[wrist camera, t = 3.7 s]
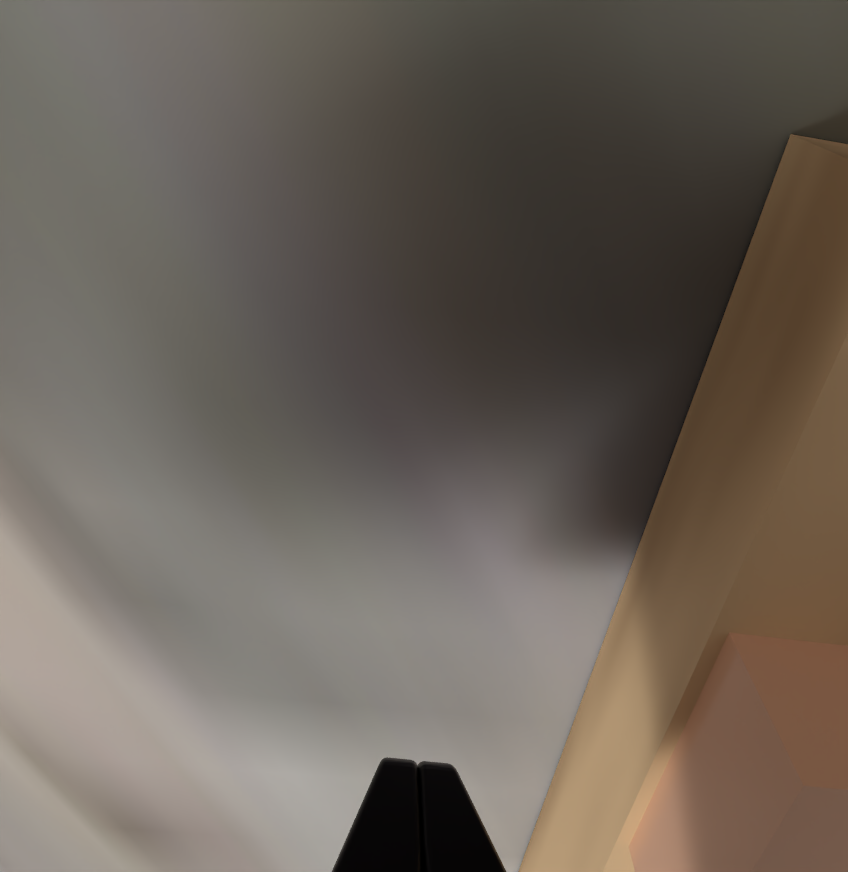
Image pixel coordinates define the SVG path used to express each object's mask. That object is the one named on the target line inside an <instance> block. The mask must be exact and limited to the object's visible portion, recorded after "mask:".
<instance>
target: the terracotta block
mask: <svg viewBox="0 0 848 872" xmlns="http://www.w3.org/2000/svg"><path fill="white" fill-rule="evenodd" d="M629 850H630V854H631V858H632V862H633V865H634V869H635V872H848V646H845V645H836V644H827V643H818V642H809V641H800V640H792V639H783V638H774V637H765V636H756V635H747V634H738V633H729V634H728V636H727V638H726V640H725V642H724V644H723V646H722V648H721V651H720V653H719V655H718V657H717V659H716V661H715V663H714V666H713V668H712V670H711V672H710V674H709V676H708V678H707V680H706V683H705V685H704V687H703V689H702V691H701V693H700V695H699V698H698V700H697V702H696V704H695V706H694V708H693V710H692V712H691V715H690V717H689V719H688V721H687V723H686V725H685V727H684V729H683V732H682V734H681V736H680V738H679V740H678V742H677V744H676V747H675V749H674V751H673V753H672V755H671V757H670V759H669V761H668V764H667V766H666V768H665V770H664V772H663V774H662V776H661V779H660V781H659V783H658V785H657V787H656V789H655V791H654V793H653V796H652V798H651V800H650V802H649V804H648V806H647V808H646V810H645V813H644V815H643V817H642V819H641V821H640V823H639V825H638V828H637V830H636V832H635V834H634V836H633V838H632V840H631V842H630V845H629Z"/></svg>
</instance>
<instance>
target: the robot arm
mask: <svg viewBox="0 0 848 872" xmlns="http://www.w3.org/2000/svg"><path fill="white" fill-rule="evenodd" d="M332 872H506V870H505V868H504V866H503V864H502V862H501V860H500V858H499V856H498V854H497V852H496V850H495V848H494V846H493V844H492V842H491V839H490V837H489V835H488V833H487V831H486V829H485V827H484V825H483V823H482V821H481V819H480V817H479V815H478V813H477V811H476V809H475V807H474V805H473V803H472V801H471V799H470V796H469V794H468V792H467V790H466V788H465V786H464V784H463V782H462V780H461V778H460V776H459V774H458V772H457V770H456V769H455V768H454V767H453V766H452V765H451V764H447V763H437V762H427V761H423V762H420V763H419V764H418V766H417V764H416V763H415V762H414V761H412V760H407V759H397V758H384V759H383V760H382V761H381V762H380V764H379V766H378V768H377V770H376V773H375V775H374V777H373V779H372V782H371V784H370V786H369V789H368V791H367V793H366V795H365V798H364V800H363V802H362V804H361V807H360V809H359V811H358V814H357V816H356V818H355V820H354V823H353V825H352V827H351V829H350V832H349V834H348V836H347V839H346V841H345V843H344V845H343V848H342V850H341V852H340V854H339V857H338V859H337V861H336V864H335V866H334V868H333V870H332Z"/></svg>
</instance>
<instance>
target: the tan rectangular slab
mask: <svg viewBox="0 0 848 872" xmlns="http://www.w3.org/2000/svg"><path fill="white" fill-rule="evenodd" d="M729 633H738V634H747V635H756V636H765V637H774V638H783V639H792V640H800V641H809V642H818V643H827V644H836V645H845V646H848V144H844V143H838V142H832V141H827V140H821V139H815V138H810V137H804V136H798V135H793V134H790V137H789V140H788V143H787V145H786V148H785V151H784V153H783V156H782V159H781V162H780V164H779V167H778V170H777V172H776V175H775V178H774V180H773V183H772V186H771V189H770V191H769V194H768V197H767V199H766V202H765V205H764V208H763V210H762V213H761V216H760V218H759V221H758V224H757V227H756V229H755V232H754V235H753V237H752V240H751V243H750V246H749V248H748V251H747V254H746V256H745V259H744V262H743V264H742V267H741V270H740V273H739V275H738V278H737V281H736V283H735V286H734V289H733V292H732V294H731V297H730V300H729V302H728V305H727V308H726V311H725V313H724V316H723V319H722V321H721V324H720V327H719V330H718V332H717V335H716V338H715V340H714V343H713V346H712V348H711V351H710V354H709V357H708V359H707V362H706V365H705V367H704V370H703V373H702V376H701V378H700V381H699V384H698V386H697V389H696V392H695V395H694V397H693V400H692V403H691V405H690V408H689V411H688V414H687V416H686V419H685V422H684V424H683V427H682V430H681V432H680V435H679V438H678V441H677V443H676V446H675V449H674V451H673V454H672V457H671V460H670V462H669V465H668V468H667V470H666V473H665V476H664V479H663V481H662V484H661V487H660V489H659V492H658V495H657V498H656V500H655V503H654V506H653V508H652V511H651V514H650V516H649V519H648V522H647V525H646V527H645V530H644V533H643V535H642V538H641V541H640V544H639V546H638V549H637V552H636V554H635V557H634V560H633V563H632V565H631V568H630V571H629V573H628V576H627V579H626V582H625V584H624V587H623V590H622V592H621V595H620V598H619V600H618V603H617V606H616V609H615V611H614V614H613V617H612V619H611V622H610V625H609V628H608V630H607V633H606V636H605V638H604V641H603V644H602V647H601V649H600V652H599V655H598V657H597V660H596V663H595V666H594V668H593V671H592V674H591V676H590V679H589V682H588V684H587V687H586V690H585V693H584V695H583V698H582V701H581V703H580V706H579V709H578V712H577V714H576V717H575V720H574V722H573V725H572V728H571V731H570V733H569V736H568V739H567V741H566V744H565V747H564V750H563V752H562V755H561V758H560V760H559V763H558V766H557V768H556V771H555V774H554V777H553V779H552V782H551V785H550V787H549V790H548V793H547V796H546V798H545V801H544V804H543V806H542V809H541V812H540V815H539V817H538V820H537V823H536V825H535V828H534V831H533V834H532V836H531V839H530V842H529V844H528V847H527V850H526V852H525V855H524V858H523V861H522V863H521V866H520V869H519V871H518V872H635V869H634V865H633V862H632V858H631V854H630V850H629V845H630V842H631V840H632V838H633V836H634V834H635V832H636V830H637V828H638V825H639V823H640V821H641V819H642V817H643V815H644V813H645V810H646V808H647V806H648V804H649V802H650V800H651V798H652V796H653V793H654V791H655V789H656V787H657V785H658V783H659V781H660V779H661V776H662V774H663V772H664V770H665V768H666V766H667V764H668V761H669V759H670V757H671V755H672V753H673V751H674V749H675V747H676V744H677V742H678V740H679V738H680V736H681V734H682V732H683V729H684V727H685V725H686V723H687V721H688V719H689V717H690V715H691V712H692V710H693V708H694V706H695V704H696V702H697V700H698V698H699V695H700V693H701V691H702V689H703V687H704V685H705V683H706V680H707V678H708V676H709V674H710V672H711V670H712V668H713V666H714V663H715V661H716V659H717V657H718V655H719V653H720V651H721V648H722V646H723V644H724V642H725V640H726V638H727V636H728V634H729Z"/></svg>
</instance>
